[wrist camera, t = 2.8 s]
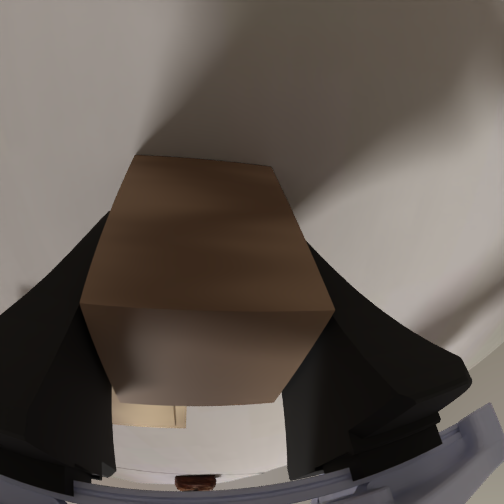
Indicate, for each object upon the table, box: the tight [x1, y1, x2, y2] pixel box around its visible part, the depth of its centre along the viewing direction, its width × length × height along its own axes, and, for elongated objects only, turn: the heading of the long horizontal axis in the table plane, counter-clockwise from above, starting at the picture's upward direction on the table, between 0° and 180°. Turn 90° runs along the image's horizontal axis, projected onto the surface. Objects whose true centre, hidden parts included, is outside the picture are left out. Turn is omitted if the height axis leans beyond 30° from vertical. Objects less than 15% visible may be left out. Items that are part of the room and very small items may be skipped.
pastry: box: [175, 475, 216, 491], centre depth 59 cm, size 11×12×6 cm
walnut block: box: [79, 155, 335, 406], centre depth 8 cm, size 4×4×6 cm
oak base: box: [112, 387, 187, 428], centre depth 16 cm, size 10×10×3 cm
